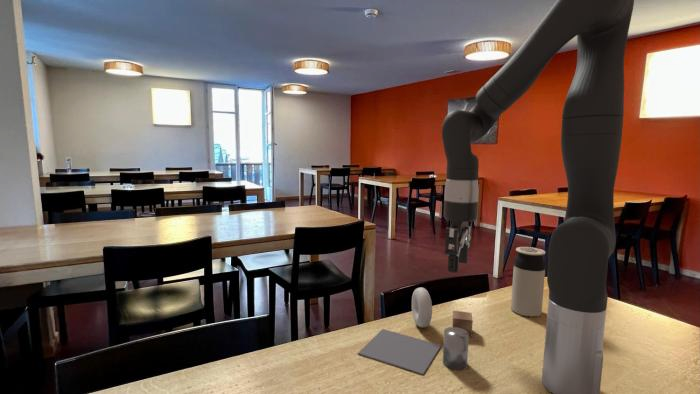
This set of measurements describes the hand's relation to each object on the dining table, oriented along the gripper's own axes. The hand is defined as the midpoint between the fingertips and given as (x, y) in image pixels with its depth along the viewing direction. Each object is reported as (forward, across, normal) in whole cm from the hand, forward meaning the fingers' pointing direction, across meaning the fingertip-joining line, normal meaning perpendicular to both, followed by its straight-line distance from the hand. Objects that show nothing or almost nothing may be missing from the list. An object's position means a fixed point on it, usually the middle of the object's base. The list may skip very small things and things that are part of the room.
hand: (458, 266), depth 87 cm
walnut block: (+18, +4, -1) cm, 19 cm away
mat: (+18, -12, +9) cm, 23 cm away
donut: (+18, +2, +9) cm, 20 cm away
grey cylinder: (+18, -11, -3) cm, 21 cm away
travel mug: (+18, +27, -13) cm, 35 cm away
